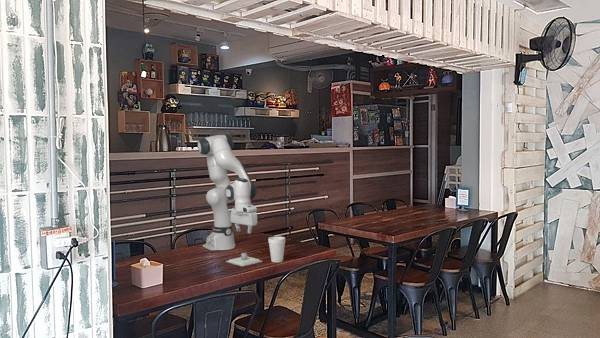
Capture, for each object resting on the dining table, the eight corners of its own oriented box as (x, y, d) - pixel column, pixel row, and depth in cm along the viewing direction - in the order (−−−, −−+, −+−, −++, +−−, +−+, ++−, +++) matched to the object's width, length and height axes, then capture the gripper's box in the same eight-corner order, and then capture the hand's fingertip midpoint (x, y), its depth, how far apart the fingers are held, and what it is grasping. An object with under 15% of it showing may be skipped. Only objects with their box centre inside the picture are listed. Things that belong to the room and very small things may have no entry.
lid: (229, 261, 276) (228, 253, 276) (246, 257, 285) (245, 250, 284) (242, 264, 268) (242, 256, 267) (259, 260, 276) (259, 253, 276)
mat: (226, 261, 277) (226, 260, 277) (245, 257, 286) (245, 256, 286) (242, 266, 266) (242, 265, 266) (262, 261, 276) (262, 260, 276)
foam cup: (283, 263, 272) (282, 240, 271) (266, 262, 274) (266, 239, 273) (287, 259, 281) (286, 236, 280) (271, 258, 283) (271, 236, 282)
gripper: (227, 206, 280) (228, 231, 280) (249, 209, 265) (250, 235, 266) (236, 205, 284) (237, 229, 285) (258, 208, 269) (259, 233, 270)
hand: (243, 232), depth 275 cm, fingers open, 8 cm apart
